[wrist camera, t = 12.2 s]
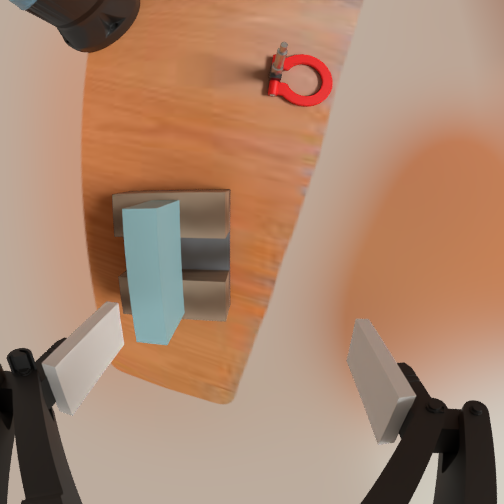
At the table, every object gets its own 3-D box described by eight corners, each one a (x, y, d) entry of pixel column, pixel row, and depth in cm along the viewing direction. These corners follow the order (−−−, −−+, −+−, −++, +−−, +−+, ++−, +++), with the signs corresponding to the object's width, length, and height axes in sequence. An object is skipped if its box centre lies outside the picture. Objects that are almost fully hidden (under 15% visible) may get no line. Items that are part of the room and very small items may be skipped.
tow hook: (332, 63, 39) (272, 51, 39) (360, 31, 27) (281, 14, 26) (327, 112, 41) (265, 101, 41) (356, 93, 29) (272, 76, 28)
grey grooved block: (129, 191, 45) (112, 194, 39) (230, 189, 44) (225, 192, 39) (137, 298, 49) (123, 313, 44) (230, 304, 49) (225, 321, 43)
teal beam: (184, 312, 43) (167, 345, 34) (158, 310, 43) (136, 341, 34) (179, 200, 39) (156, 208, 30) (151, 200, 39) (122, 209, 30)
